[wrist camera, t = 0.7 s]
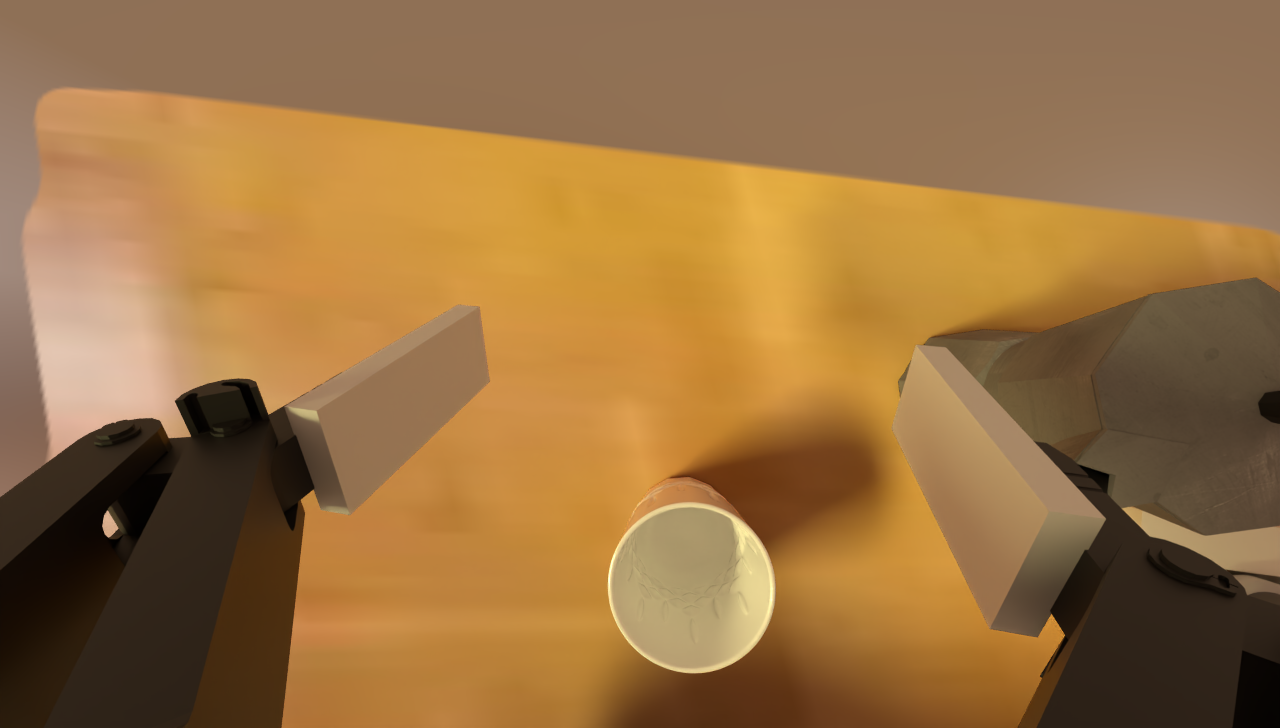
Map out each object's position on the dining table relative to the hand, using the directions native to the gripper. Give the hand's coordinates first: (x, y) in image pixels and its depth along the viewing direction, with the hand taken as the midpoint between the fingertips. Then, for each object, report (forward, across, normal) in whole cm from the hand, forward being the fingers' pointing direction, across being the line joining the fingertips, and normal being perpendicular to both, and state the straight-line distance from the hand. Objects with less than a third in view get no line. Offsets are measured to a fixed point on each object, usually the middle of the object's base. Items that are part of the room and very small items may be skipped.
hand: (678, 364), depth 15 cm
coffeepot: (+19, -18, +9) cm, 28 cm away
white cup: (+12, 0, +18) cm, 21 cm away
